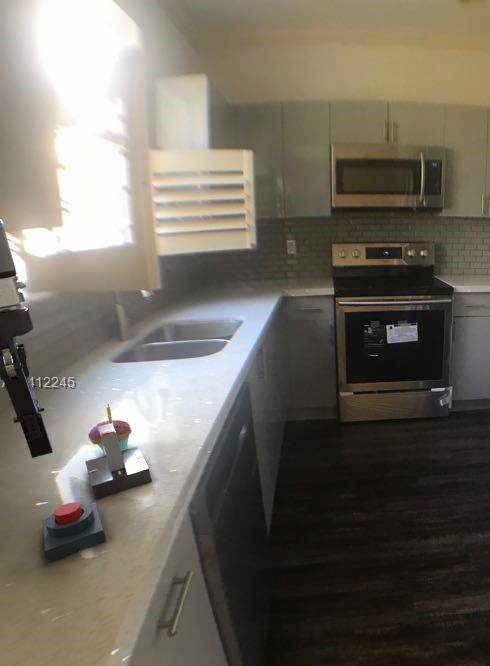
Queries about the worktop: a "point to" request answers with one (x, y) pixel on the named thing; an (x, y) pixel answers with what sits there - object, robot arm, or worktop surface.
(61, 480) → the worktop surface
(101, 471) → the plate
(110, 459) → the hob knob
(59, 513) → the button
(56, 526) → the button box
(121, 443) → the cupcake
